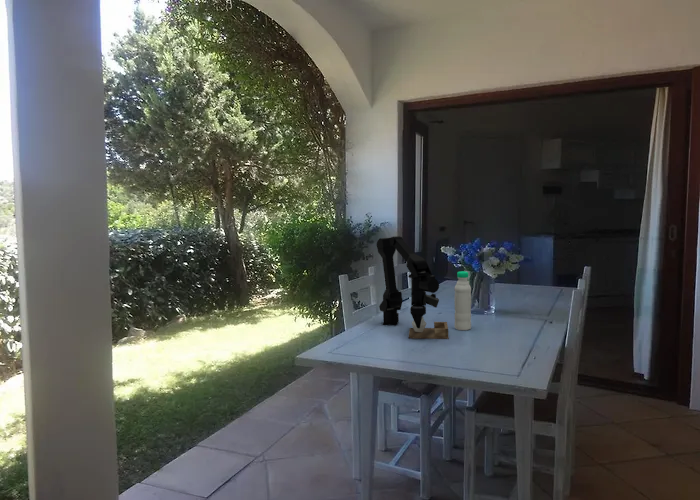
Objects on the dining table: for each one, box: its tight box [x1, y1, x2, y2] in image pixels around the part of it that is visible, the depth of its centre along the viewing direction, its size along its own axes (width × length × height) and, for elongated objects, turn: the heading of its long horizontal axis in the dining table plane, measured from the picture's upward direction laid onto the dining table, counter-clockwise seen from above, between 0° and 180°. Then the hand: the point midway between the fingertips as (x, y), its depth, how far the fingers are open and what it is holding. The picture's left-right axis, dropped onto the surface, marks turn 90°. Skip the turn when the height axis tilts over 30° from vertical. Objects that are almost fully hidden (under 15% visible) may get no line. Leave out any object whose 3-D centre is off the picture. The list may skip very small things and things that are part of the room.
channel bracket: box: [408, 321, 449, 340], centre depth 206 cm, size 16×14×4 cm
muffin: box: [411, 316, 427, 332], centre depth 206 cm, size 6×6×7 cm
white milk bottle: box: [454, 270, 472, 331], centre depth 212 cm, size 7×7×25 cm
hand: (418, 325), depth 206 cm, fingers open, 7 cm apart
